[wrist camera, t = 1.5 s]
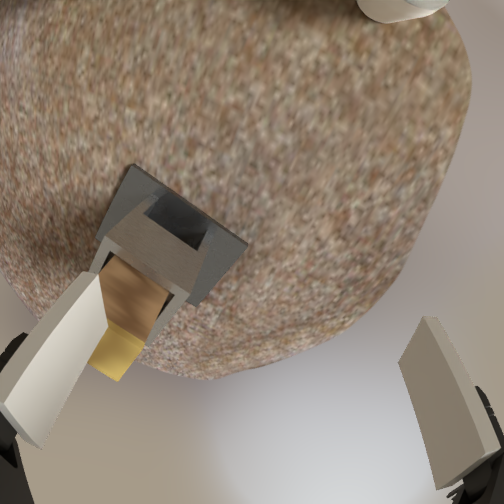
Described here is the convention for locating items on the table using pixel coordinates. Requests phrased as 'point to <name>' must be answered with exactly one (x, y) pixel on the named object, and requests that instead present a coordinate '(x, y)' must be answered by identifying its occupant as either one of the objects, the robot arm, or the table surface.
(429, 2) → the cup
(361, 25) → the table surface
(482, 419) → the robot arm
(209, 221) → the chute
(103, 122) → the table surface
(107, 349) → the block
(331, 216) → the table surface
